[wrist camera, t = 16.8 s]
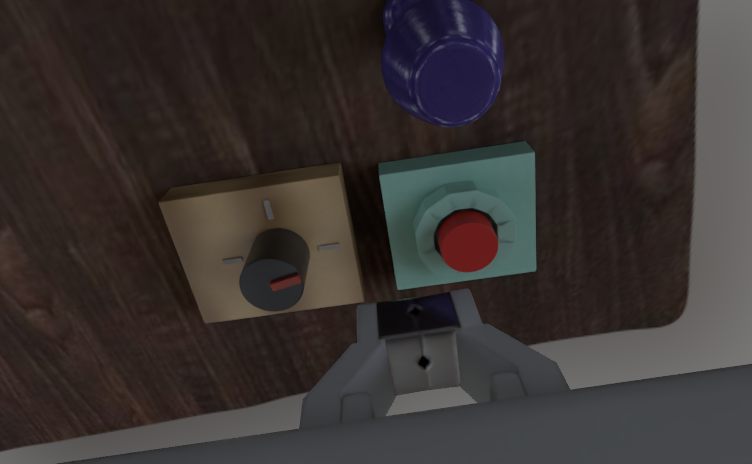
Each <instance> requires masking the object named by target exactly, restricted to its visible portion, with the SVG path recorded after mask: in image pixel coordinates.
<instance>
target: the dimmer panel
mask: <svg viewBox="0 0 752 464" xmlns="http://www.w3.org/2000/svg"><path fill="white" fill-rule="evenodd" d="M159 206H160V209H161V211H162V214H163V216H164V219H165V222H166V224H167V227H168V229H169V232H170V235H171V237H172V240H173V242H174V245H175V248H176V250H177V253H178V255H179V258H180V261H181V263H182V266H183V268H184V271H185V274H186V276H187V279H188V282H189V284H190V287H191V289H192V292H193V295H194V297H195V300H196V302H197V305H198V308H199V310H200V313H201V315H202V318H203V321H204V323H205V324H207V323H214V322H221V321H229V320H236V319H243V318H251V317H258V316H265V315H273V314H280V313H287V312H294V311H302V310H309V309H316V308H324V307H331V306H338V305H346V304H353V303H360V302H364V279H363V274H362V268H361V263H360V258H359V253H358V248H357V243H356V238H355V233H354V228H353V223H352V217H351V212H350V207H349V202H348V197H347V192H346V187H345V182H344V177H343V171H342V166H341V163H340V162H338V163H332V164H325V165H319V166H312V167H306V168H299V169H293V170H286V171H279V172H273V173H266V174H260V175H253V176H247V177H240V178H234V179H227V180H220V181H214V182H207V183H201V184H194V185H188V186H181V187H175V188H170V190H169V191H168V192H167V193H166V194H165V195H164V197H163V198H162V199H161V200H160V201H159ZM275 228H282V229H288V230H291V231H293V232H295V233H297V234H298V235H299V236H301V237H302V238H303V239H304V241H305V242H306V244H307V245H308V248H309V251H310V260H309V265H308V270H307V276H306V281H305V286H304V291H303V295H302V297H301V298H300V300H299V301H298V302H297V303H296V304H295V305H294V306H292V307H291V308H289V309H286V310H283V311H277V312H272V311H265V310H261V309H259V308H257V307H255V306H253V305H252V304H250V303H249V302H248V301H247V300H246V299H245V297H244V296H243V294H242V292H241V290H240V286H239V278H240V275H241V272H242V269H243V267H244V264H245V262H246V259H247V257H248V254H249V252H250V249H251V247H252V244H253V242H254V240H255V239H256V238H257V237H258V236H259V235H260V234H261V233H263V232H265V231H267V230H270V229H275Z"/></svg>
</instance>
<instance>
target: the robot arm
mask: <svg viewBox="0 0 752 464" xmlns="http://www.w3.org/2000/svg"><path fill="white" fill-rule="evenodd" d="M458 386H461V388H462V389H463V390H464V391H465V392H466V393H468V394H469V395H470V396H471V397H472V398H473V399H474V400H475V401H476V402H477V403H476V404H469V405H462V406H455V407H448V408H441V409H434V410H427V411H420V412H413V413H407V414H399V415H392V416H386V414H387V412H388V410H389V408H390V407H391V405H392V403H393V401H394V399H395V398H396V397H395V396H396V395H402V394H408V393H413V392H419V391H424V390H432V389H441V388H449V387H458ZM58 464H752V364H748V365H741V366H734V367H727V368H720V369H712V370H706V371H700V372H699V371H698V372H692V373H685V374H678V375H670V376H663V377H656V378H649V379H642V380H635V381H629V382H622V383H615V384H608V385H601V386H594V387H587V388H580V389H573V390H570V388H569V386H568V384H567V382H566V380H565V378H564V376H563V375H562V372H561V371H560V369H559V367H558V365H557V363H556V362H554V361H552V360H550V359H549V358H547V357H545V356H543V355H542V354H540V353H538V352H536V351H535V350H533V349H531V348H530V347H528V346H526V345H524V344H523V343H521V342H519V341H517V340H516V339H514V338H512V337H510V336H509V335H507V334H505V333H503V332H502V331H500V330H498V329H496V328H495V327H493V326H491V325H489V324H482V322H481V319H480V316H479V313H478V311H477V308H476V305H475V303H474V300H473V297H472V294H471V292H470V290H469V289H468V288H467V289H462V290H456V291H451V292H447V293H441V294H435V295H429V296H423V297H417V298H407V299H400V300H392V301H384V302H377V304H376V303H370V304H363V305H358V307H357V343H354V344H352V345H351V346H350V347H349V348H348V349H347V350H346V351H345V352H344V354H343V355H342V356H341V357H340V358H339V359H338V360H337V362H336V363H335V364H334V365H333V366H332V367H331V368H330V369H329V371H328V372H327V373H326V374H325V375H324V376H323V377H322V378H321V380H320V381H319V382H318V383H317V384H316V385H315V386H314V387H313V389H312V390H311V391H310V392H309V393H308V394H307V395H306V396H305V398H304V399H303V403H302V411H301V420H300V427H299V429H294V430H288V431H280V432H274V433H267V434H260V435H253V436H246V437H239V438H232V439H225V440H218V441H211V442H204V443H197V444H190V445H183V446H176V447H169V448H162V449H155V450H148V451H141V452H134V453H127V454H120V455H113V456H106V457H99V458H93V459H86V460H79V461H72V462H65V463H58Z"/></svg>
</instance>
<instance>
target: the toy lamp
mask: <svg viewBox="0 0 752 464" xmlns="http://www.w3.org/2000/svg"><path fill="white" fill-rule="evenodd" d="M383 25H384V30H385V33H386V35H387V36H386V39H385V42H384V46H383V50H382V60H381V65H382V74H383V78H384V82H385V84H386V87H387V89H388V91H389V93H390V94H391V96H392V97H393V99H394V100H395V101H396V102H397V104H398V105H399V106H400V107H401V108H403V109H404V110H405V111H406V112H408V113H409V114H411V115H413V116H414V117H416V118H418V119H421V120H423V121H425V122H428V123H431V124H433V125H436V126H441V127H458V126H463V125H466V124H469V123H471V122H473V121H475V120H476V119H478V118H480V117H481V116H482V115H483V114H484V113H485V112H486V111H487V110H488V109H489V108H490V106H491V105H492V104H493V102H494V100H495V99H496V96H497V94H498V91H499V88H500V84H501V78H502V72H503V64H504V50H503V43H502V39H501V35H500V33H499V30H498V28H497V26H496V24H495V22H494V21H493V19H492V18H491V16H490V15H489V14H488V13H487V12H486V11H485V10H484V9H483V8H482V7H480V6H479V5H477V4H476V3H474V2H472V1H470V0H386V3H385V7H384V10H383Z"/></svg>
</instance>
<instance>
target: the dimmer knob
mask: <svg viewBox="0 0 752 464" xmlns="http://www.w3.org/2000/svg"><path fill="white" fill-rule="evenodd" d="M309 260H310V251H309V248H308V245H307V244H306V242H305V241H304V239H303V238H302V237H301V236H299V235H298V234H297V233H295V232H293V231H291V230H288V229H282V228H275V229H270V230H267V231H265V232H263V233H261V234H260V235H259V236H258V237H257V238H256V239H255V240H254V242H253V244H252V247H251V249H250V252H249V254H248V257H247V259H246V262H245V264H244V267H243V269H242V272H241V275H240V278H239V286H240V290H241V292H242V294H243V296H244V297H245V299H246V300H247V301H248V302H249V303H250V304H252V305H253V306H255V307H257V308H259V309H261V310H265V311H272V312H277V311H283V310H286V309H289V308H291V307H292V306H294V305H295V304H296V303H297V302H298V301H299V300H300V298H301V297H302V295H303V291H304V286H305V281H306V276H307V270H308V265H309Z"/></svg>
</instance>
